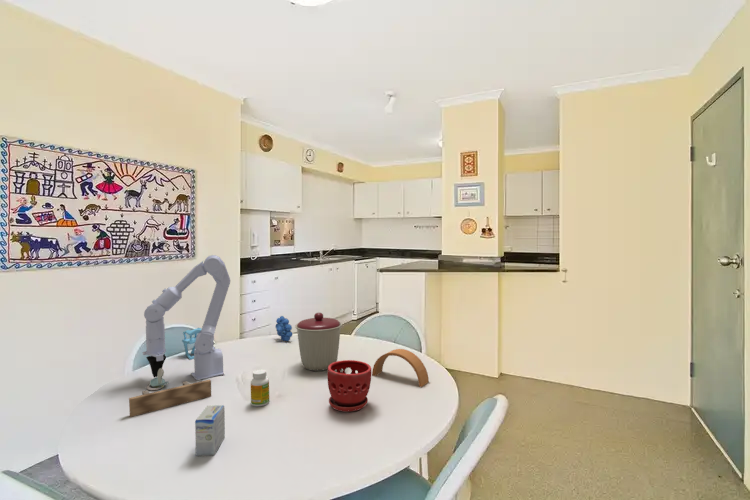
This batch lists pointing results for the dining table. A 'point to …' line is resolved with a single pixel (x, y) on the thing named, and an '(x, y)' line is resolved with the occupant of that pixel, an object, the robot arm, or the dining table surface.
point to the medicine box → (210, 430)
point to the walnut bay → (169, 397)
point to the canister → (318, 341)
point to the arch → (410, 358)
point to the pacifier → (157, 381)
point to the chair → (190, 341)
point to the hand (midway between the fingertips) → (156, 376)
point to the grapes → (283, 328)
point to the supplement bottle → (259, 388)
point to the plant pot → (349, 385)
